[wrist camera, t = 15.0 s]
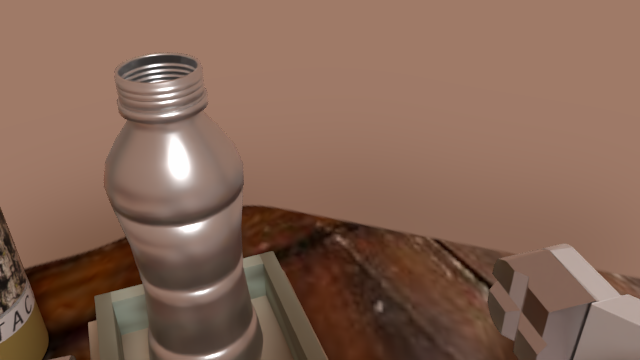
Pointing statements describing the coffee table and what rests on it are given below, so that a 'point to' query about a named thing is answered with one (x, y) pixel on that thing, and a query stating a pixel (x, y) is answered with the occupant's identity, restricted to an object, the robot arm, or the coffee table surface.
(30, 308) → the paper tube
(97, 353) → the bottle stand
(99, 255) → the coffee table surface
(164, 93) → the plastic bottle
